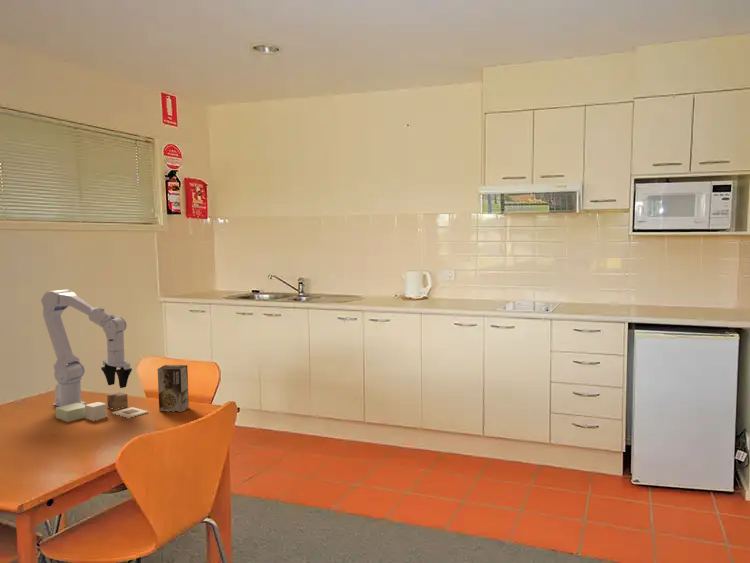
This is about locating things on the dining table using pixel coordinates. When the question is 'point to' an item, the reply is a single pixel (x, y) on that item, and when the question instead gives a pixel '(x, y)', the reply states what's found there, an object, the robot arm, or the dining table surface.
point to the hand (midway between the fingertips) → (117, 386)
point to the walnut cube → (117, 400)
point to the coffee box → (173, 388)
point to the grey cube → (96, 411)
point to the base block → (71, 412)
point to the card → (130, 412)
